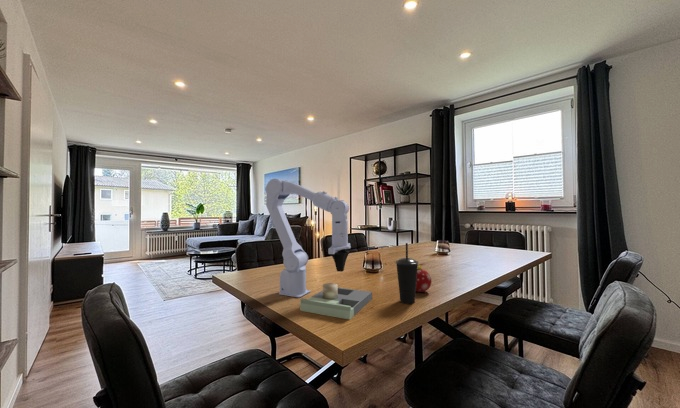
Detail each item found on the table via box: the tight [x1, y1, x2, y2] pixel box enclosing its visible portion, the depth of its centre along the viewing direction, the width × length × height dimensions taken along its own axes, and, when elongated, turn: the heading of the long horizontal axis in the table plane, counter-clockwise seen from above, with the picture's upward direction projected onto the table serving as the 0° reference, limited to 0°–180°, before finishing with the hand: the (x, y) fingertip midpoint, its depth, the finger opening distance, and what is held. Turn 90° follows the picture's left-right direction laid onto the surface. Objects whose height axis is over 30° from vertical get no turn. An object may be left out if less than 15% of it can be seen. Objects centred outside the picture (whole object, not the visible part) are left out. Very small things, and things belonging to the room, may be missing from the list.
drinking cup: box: [395, 242, 419, 305], centre depth 96 cm, size 8×8×20 cm
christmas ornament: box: [416, 264, 432, 293], centre depth 107 cm, size 9×9×10 cm
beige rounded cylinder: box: [322, 282, 339, 300], centre depth 94 cm, size 5×5×4 cm
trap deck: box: [299, 287, 373, 320], centre depth 94 cm, size 17×20×4 cm
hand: (340, 271), depth 101 cm, fingers closed
